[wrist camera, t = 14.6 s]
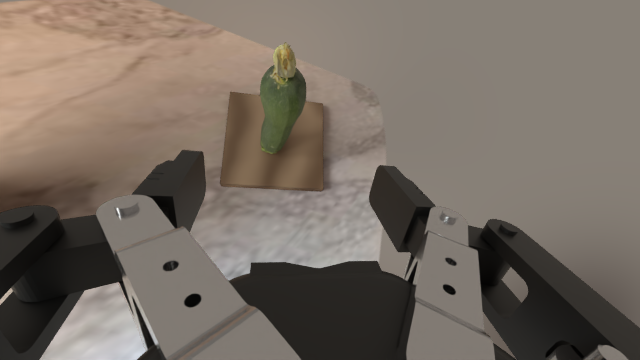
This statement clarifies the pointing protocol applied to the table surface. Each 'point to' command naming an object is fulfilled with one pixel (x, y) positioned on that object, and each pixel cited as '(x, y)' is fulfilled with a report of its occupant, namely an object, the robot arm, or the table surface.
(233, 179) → the cutting board
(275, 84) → the vegetable
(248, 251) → the table surface
